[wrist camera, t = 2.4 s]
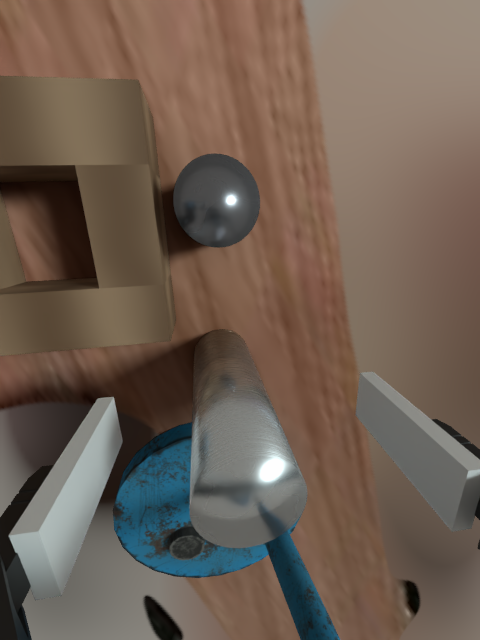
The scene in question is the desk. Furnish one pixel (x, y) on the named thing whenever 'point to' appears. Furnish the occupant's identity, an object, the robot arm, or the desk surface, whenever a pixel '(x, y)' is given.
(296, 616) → the desk lamp
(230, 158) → the stub pin
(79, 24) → the desk surface
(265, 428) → the tall pin
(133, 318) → the tan square frame
